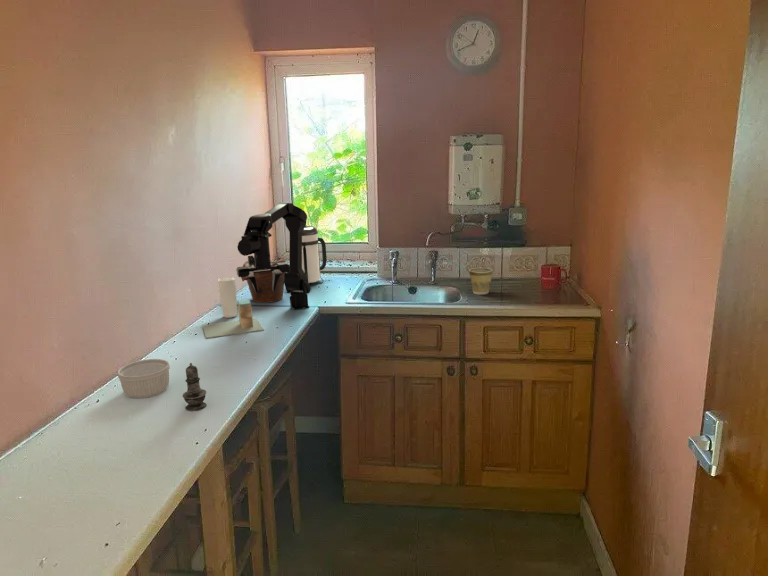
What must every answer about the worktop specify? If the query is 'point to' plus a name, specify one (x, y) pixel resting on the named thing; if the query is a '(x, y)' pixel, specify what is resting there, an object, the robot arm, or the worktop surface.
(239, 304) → the beech block
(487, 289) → the ceramic cup
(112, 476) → the worktop surface
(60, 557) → the worktop surface
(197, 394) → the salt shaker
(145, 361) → the ramekin
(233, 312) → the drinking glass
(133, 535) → the worktop surface
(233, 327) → the rubber mat
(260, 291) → the brown round container
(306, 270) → the coffee press
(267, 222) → the robot arm
